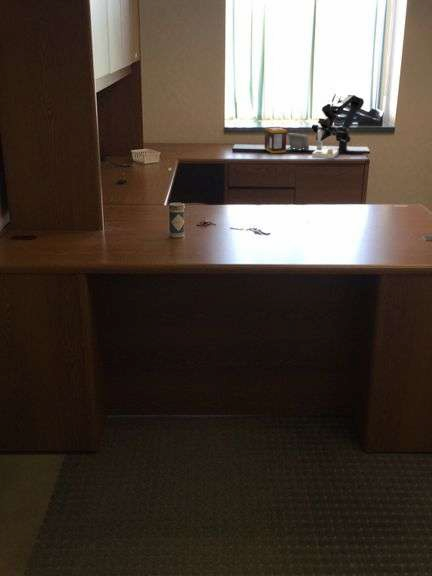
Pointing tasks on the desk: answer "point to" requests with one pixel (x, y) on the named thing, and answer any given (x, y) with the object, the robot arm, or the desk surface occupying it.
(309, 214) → the desk surface
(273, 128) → the supplement box
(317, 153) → the gauge board
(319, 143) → the steel pin
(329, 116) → the robot arm
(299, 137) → the digital clock
